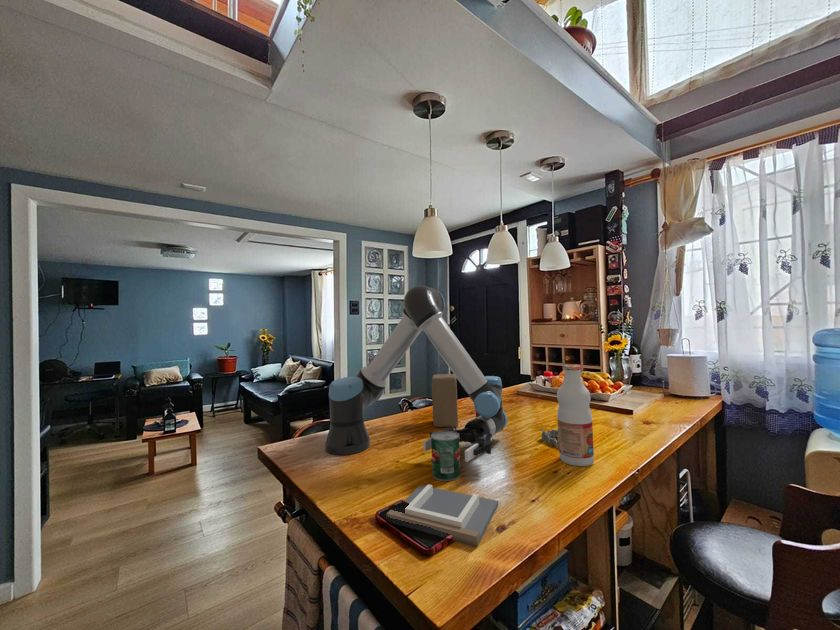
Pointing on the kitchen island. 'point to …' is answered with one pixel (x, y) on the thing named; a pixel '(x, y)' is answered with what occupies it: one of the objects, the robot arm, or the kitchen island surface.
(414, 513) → the board
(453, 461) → the canned tomato
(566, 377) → the fruit juice
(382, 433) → the kitchen island surface
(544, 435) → the egg carton
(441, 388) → the wooden block
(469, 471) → the kitchen island surface
